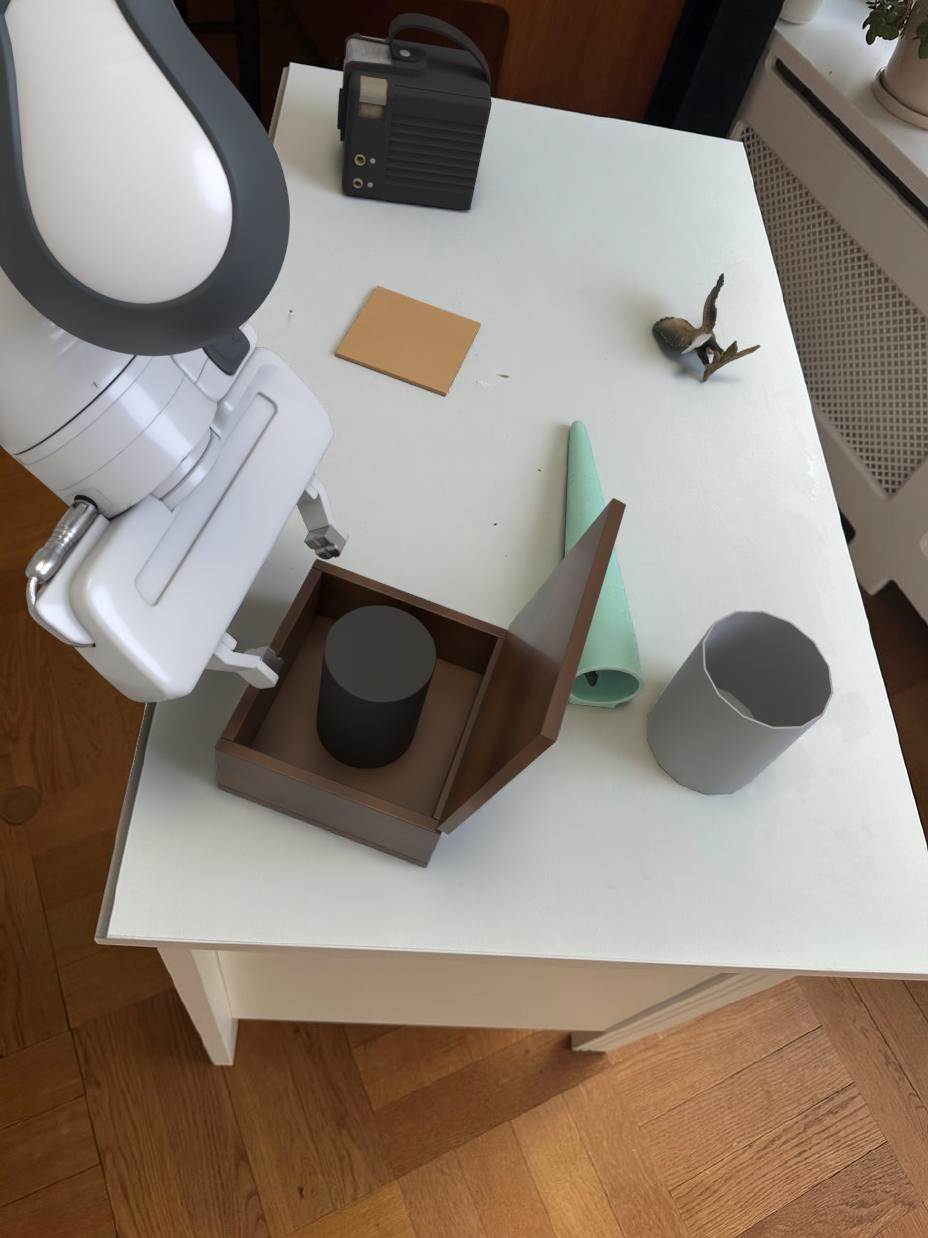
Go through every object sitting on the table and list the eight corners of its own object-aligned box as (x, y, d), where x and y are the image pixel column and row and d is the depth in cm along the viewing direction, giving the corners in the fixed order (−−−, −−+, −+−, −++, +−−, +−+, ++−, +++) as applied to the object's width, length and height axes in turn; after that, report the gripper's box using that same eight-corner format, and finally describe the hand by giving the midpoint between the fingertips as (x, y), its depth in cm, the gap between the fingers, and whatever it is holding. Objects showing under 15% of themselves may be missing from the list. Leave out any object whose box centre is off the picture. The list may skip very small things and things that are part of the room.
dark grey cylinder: (300, 747, 59) (305, 677, 51) (338, 666, 62) (349, 589, 55) (395, 783, 59) (414, 718, 51) (428, 700, 62) (451, 628, 55)
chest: (217, 788, 57) (213, 748, 52) (312, 606, 65) (316, 557, 61) (426, 868, 57) (441, 835, 52) (494, 675, 65) (513, 631, 60)
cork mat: (334, 355, 79) (335, 352, 79) (376, 288, 85) (377, 285, 85) (445, 396, 79) (446, 393, 79) (480, 326, 85) (481, 323, 84)
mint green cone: (626, 385, 76) (656, 672, 61) (605, 433, 80) (628, 711, 65) (561, 374, 75) (575, 663, 60) (544, 423, 80) (553, 703, 65)
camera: (335, 135, 97) (345, -26, 85) (467, 153, 100) (496, 0, 87) (333, 198, 91) (345, 36, 79) (474, 215, 94) (506, 61, 81)
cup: (734, 818, 62) (806, 755, 54) (627, 750, 64) (681, 679, 56) (777, 726, 67) (849, 656, 59) (676, 665, 68) (733, 587, 60)
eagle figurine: (761, 368, 87) (725, 290, 90) (760, 329, 80) (721, 247, 83) (683, 402, 89) (649, 325, 91) (675, 367, 82) (639, 285, 85)
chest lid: (540, 734, 40) (556, 741, 40) (613, 496, 48) (626, 504, 48) (436, 829, 52) (448, 835, 52) (509, 625, 60) (520, 630, 60)
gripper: (42, 584, 38) (268, 765, 46) (254, 291, 49) (406, 476, 57) (-31, 606, 42) (189, 770, 50) (181, 329, 53) (333, 498, 61)
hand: (306, 610), depth 54 cm, fingers open, 8 cm apart
